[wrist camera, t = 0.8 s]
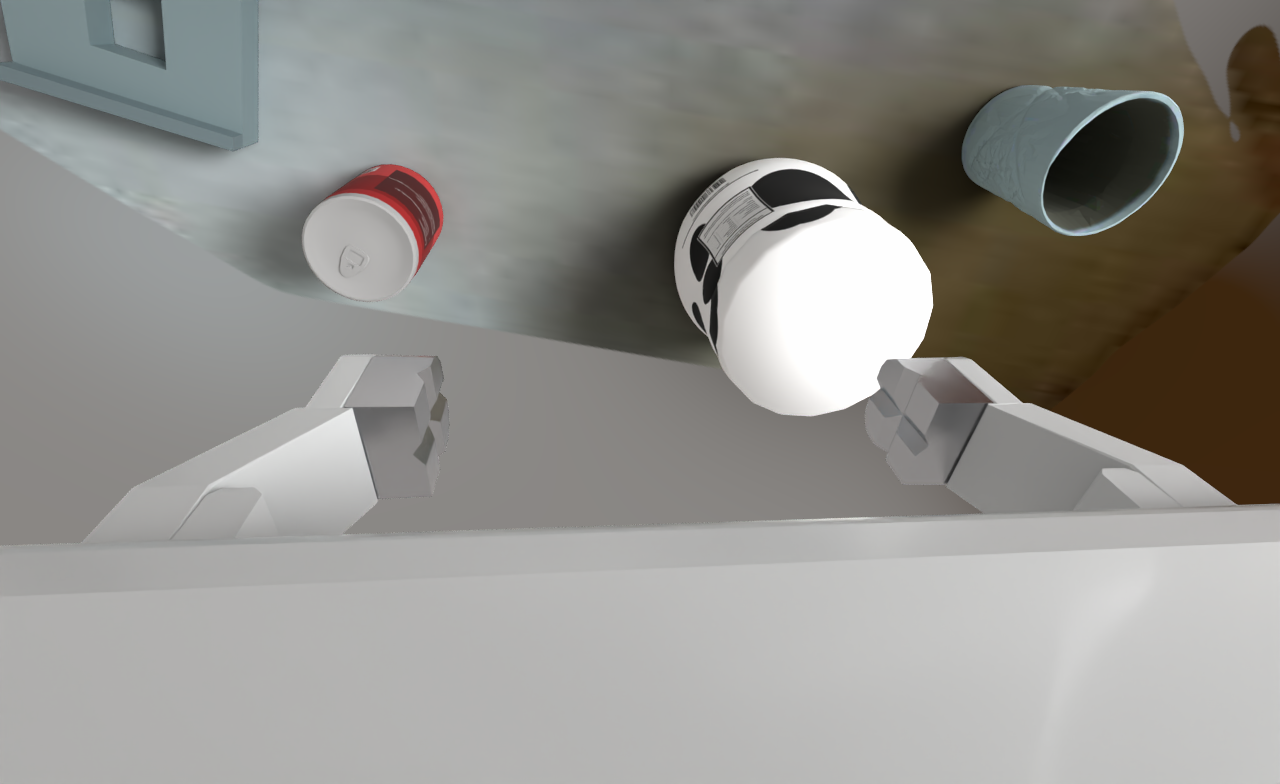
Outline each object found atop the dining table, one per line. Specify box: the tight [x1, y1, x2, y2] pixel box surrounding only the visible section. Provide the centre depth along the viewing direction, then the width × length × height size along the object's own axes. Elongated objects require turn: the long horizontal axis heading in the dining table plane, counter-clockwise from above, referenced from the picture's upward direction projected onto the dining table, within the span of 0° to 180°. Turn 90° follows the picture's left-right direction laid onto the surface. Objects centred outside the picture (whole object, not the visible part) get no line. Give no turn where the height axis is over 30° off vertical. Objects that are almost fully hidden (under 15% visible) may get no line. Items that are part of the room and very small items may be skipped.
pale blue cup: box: [962, 85, 1184, 236], centre depth 46 cm, size 10×10×12 cm
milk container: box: [674, 158, 933, 416], centre depth 46 cm, size 17×17×18 cm
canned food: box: [302, 164, 443, 302], centre depth 44 cm, size 8×8×11 cm
